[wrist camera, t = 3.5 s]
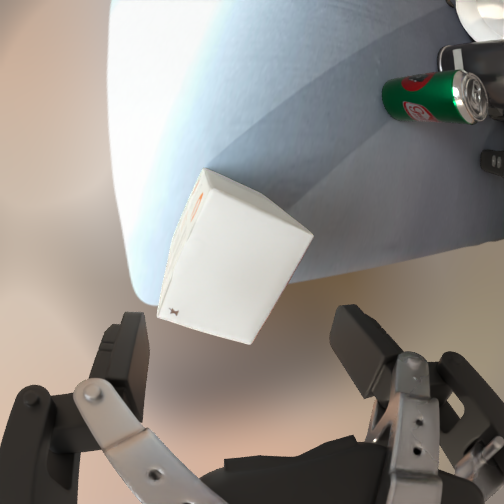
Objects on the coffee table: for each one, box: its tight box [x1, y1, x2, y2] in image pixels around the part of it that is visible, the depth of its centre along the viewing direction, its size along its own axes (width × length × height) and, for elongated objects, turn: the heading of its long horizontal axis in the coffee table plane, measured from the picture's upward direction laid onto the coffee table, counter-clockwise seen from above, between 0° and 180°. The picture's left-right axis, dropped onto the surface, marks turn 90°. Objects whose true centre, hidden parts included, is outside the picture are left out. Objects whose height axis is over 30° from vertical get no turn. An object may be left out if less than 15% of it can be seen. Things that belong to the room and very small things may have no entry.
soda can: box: [382, 69, 488, 125], centre depth 20 cm, size 5×5×12 cm
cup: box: [456, 0, 504, 42], centre depth 15 cm, size 12×12×12 cm
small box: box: [157, 168, 314, 345], centre depth 21 cm, size 8×6×13 cm
